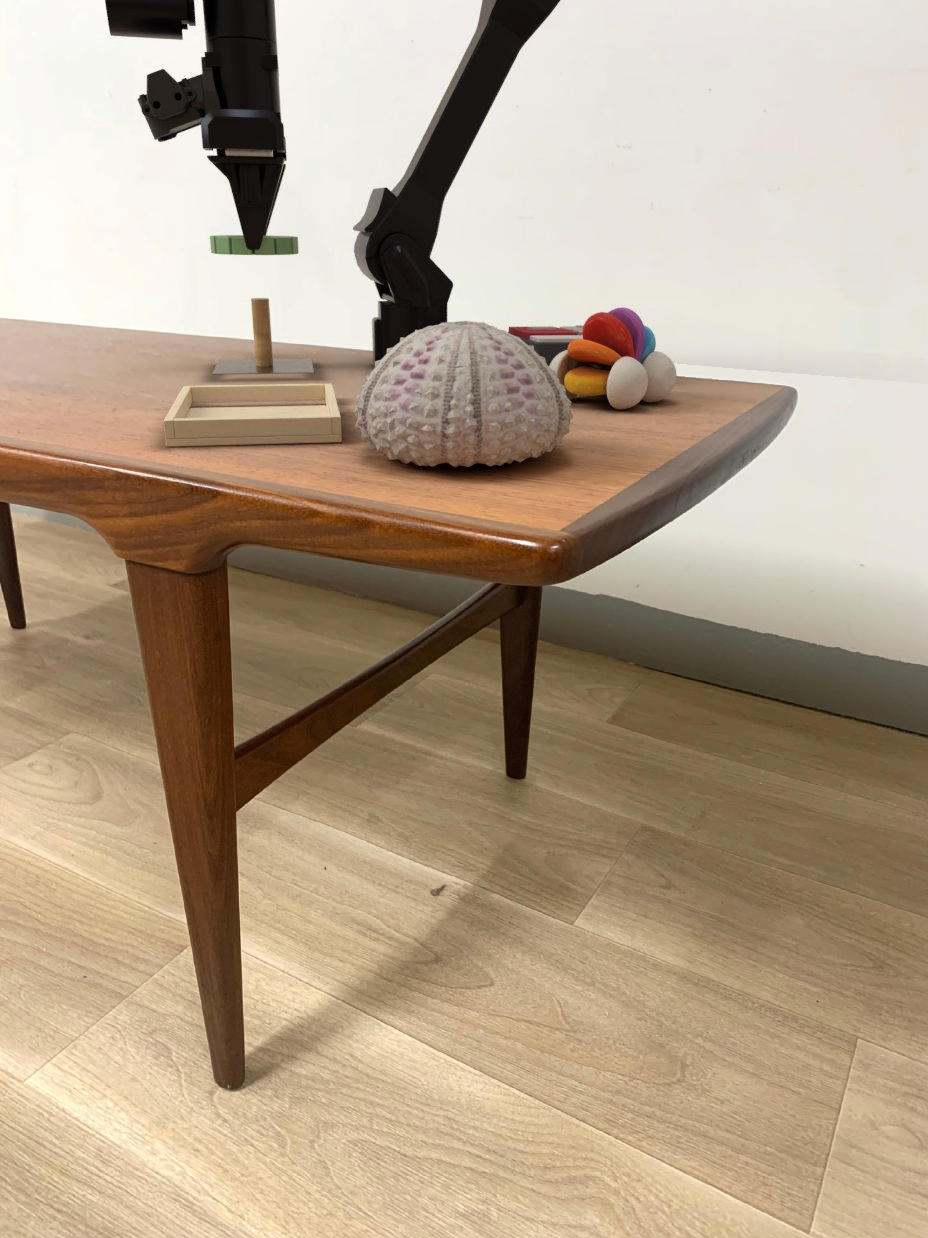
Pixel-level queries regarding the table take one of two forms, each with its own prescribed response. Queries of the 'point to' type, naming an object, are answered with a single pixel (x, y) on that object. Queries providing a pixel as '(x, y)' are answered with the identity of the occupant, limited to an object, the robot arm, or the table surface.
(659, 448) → the table surface
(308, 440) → the tray
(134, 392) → the table surface
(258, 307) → the peg stand
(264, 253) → the ring
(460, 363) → the sea urchin shell
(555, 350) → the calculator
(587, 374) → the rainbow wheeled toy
